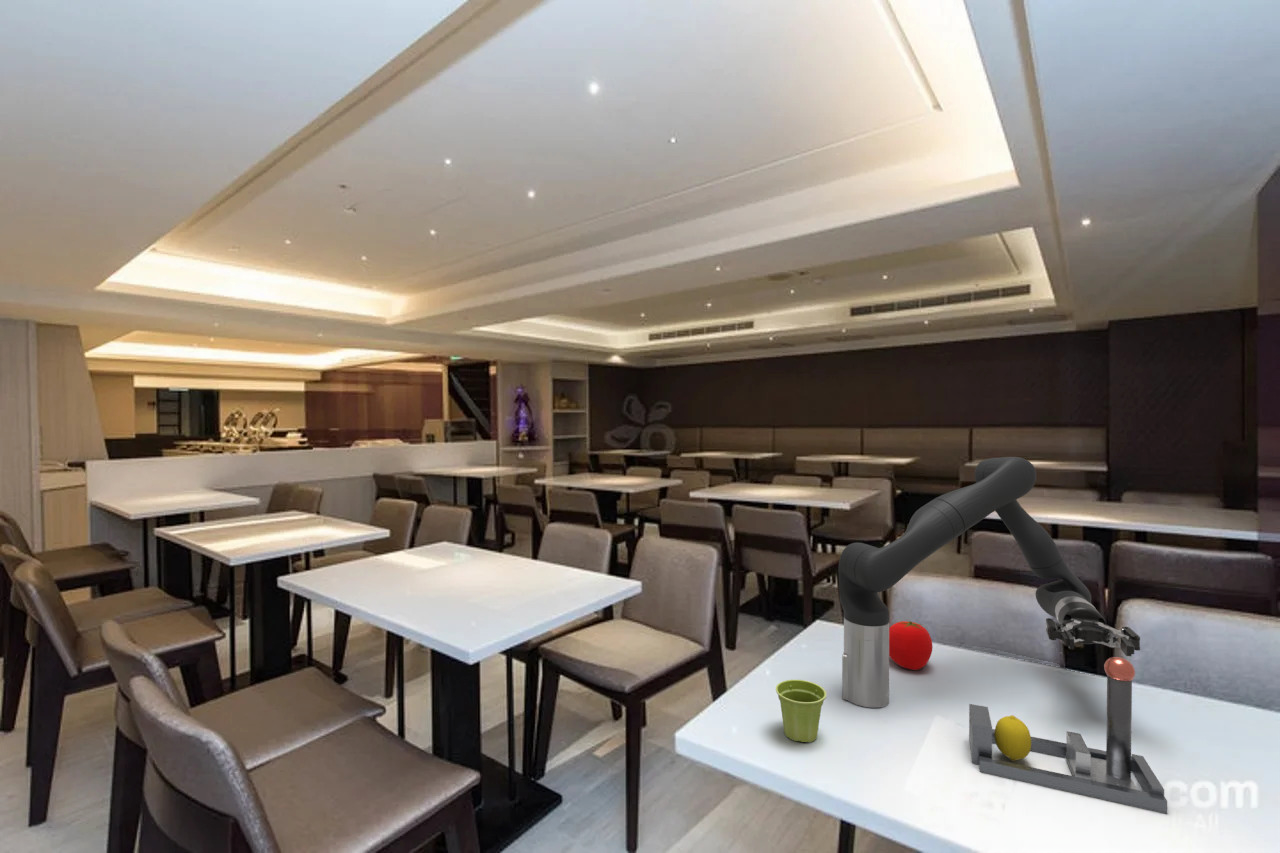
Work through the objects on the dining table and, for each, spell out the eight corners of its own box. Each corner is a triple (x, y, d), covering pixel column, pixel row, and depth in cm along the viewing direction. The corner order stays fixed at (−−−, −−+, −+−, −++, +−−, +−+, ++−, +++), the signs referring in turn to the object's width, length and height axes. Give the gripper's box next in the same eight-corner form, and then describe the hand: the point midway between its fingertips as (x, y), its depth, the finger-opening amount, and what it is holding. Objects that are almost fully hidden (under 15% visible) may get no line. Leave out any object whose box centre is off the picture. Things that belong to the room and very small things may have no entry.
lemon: (1037, 771, 101) (1037, 725, 101) (1001, 767, 103) (1001, 722, 102) (1023, 753, 107) (1023, 709, 107) (989, 750, 108) (989, 706, 108)
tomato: (892, 674, 140) (892, 628, 140) (880, 656, 150) (880, 614, 150) (939, 676, 138) (940, 630, 138) (924, 658, 149) (924, 615, 149)
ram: (1076, 784, 97) (1077, 659, 97) (1065, 758, 105) (1066, 642, 104) (1141, 798, 94) (1142, 669, 93) (1126, 771, 101) (1127, 651, 100)
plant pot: (837, 740, 112) (837, 694, 111) (800, 754, 107) (800, 706, 107) (801, 718, 120) (801, 675, 120) (765, 730, 115) (765, 686, 115)
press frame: (973, 770, 102) (973, 730, 102) (968, 734, 113) (968, 698, 113) (1167, 813, 90) (1167, 768, 90) (1140, 769, 102) (1140, 729, 102)
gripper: (1038, 597, 127) (1053, 622, 112) (1121, 605, 121) (1149, 632, 106) (1039, 631, 127) (1054, 661, 112) (1122, 641, 121) (1149, 674, 106)
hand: (1100, 647), depth 109 cm, fingers open, 8 cm apart
